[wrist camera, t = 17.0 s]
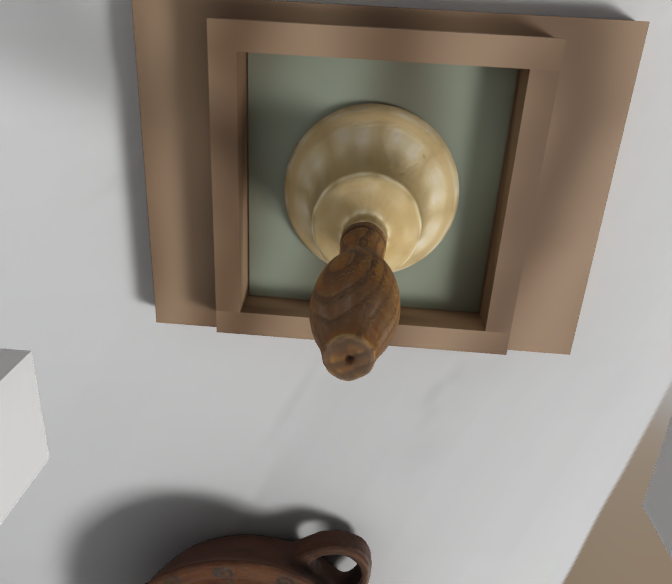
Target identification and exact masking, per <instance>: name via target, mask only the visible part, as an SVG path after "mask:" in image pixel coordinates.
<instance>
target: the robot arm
mask: <svg viewBox="0 0 672 584" xmlns="http://www.w3.org/2000/svg"><path fill="white" fill-rule="evenodd" d="M49 459H50V457H49V451H48V446H47V440H46V434H45V428H44V422H43V416H42V410H41V404H40V399H39V393H38V387H37V381H36V375H35V369H34V363H33V357H32V352H31V351H25V350H12V349H0V525H1V524H2V522H3V521H4V519H5V518H6V517H7V515H8V514H9V513H10V511H11V510H12V509H13V507H14V506H15V505H16V503H17V502H18V501H19V499H20V498H21V496H22V495H23V494H24V492H25V491H26V490H27V488H28V487H29V486H30V484H31V483H32V482H33V480H34V479H35V478H36V476H37V475H38V473H39V472H40V471H41V469H42V468H43V467H44V465H45V464H46V463H47V461H48V460H49ZM642 506H643V508H644V510H645V512H646V514H647V516H648V517H649V519H650V521H651V523H652V525H653V526H654V528H655V530H656V532H657V534H658V536H659V537H660V539H661V541H662V543H663V545H664V546H665V548H666V550H667V552H668V554H669V556H670V557H671V559H672V416H671V419H670V422H669V425H668V428H667V432H666V435H665V438H664V441H663V444H662V447H661V450H660V453H659V456H658V459H657V462H656V465H655V468H654V471H653V474H652V477H651V480H650V483H649V486H648V490H647V493H646V496H645V499H644V502H643V505H642Z"/></svg>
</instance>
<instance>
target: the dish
mask: <svg viewBox="0 0 672 584" xmlns="http://www.w3.org/2000/svg"><path fill="white" fill-rule="evenodd" d="M336 554H338V555H345V556H347V557H350V558H351V559H353V560H354V561H355V562H356V563H357V565H356V566H355V567H354V568H353V569H351V570H350V571H347V572H342V571H339V570H338V569H336V568H335V567H334V566H332V565H331V564H330V563H328V562H327V561H326V560H324V559H323V558H321V556H324V555H336ZM371 564H372V562H371V553H370V549H369V547H368V545H367V543H366V542H365V540H364V539H362V538H361V537H359V536H357V535H355V534H352V533H349V532H344V531H340V530H333V531H321V532H318V533H315V534H312V535H310V536H307V537H305V538H302V539H299V540H296V541H285V540H281V539H277V538H271V537H265V536H255V535H233V536H226V537H220V538H216V539H212V540H209V541H205V542H203V543H200V544H197V545H195V546H193V547H191V548H189V549H187V550H185V551H184V552H182V553H181V554H179V555H178V556H176V557H175V558H174V559H173V560H172V561H170V562H169V563H168V564H167V565H166V566H165V567H164V568H162V569H161V570H160V571H159V572H158V573H157V574H156V575H155V576H154V577H153V578H152V579H151V580H150V581H149V582H147V583H146V584H368V582H369V578H370V573H371Z"/></svg>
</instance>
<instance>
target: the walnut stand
mask: <svg viewBox="0 0 672 584" xmlns="http://www.w3.org/2000/svg"><path fill="white" fill-rule="evenodd" d="M132 13H133V26H134V38H135V51H136V64H137V77H138V90H139V103H140V116H141V129H142V142H143V154H144V167H145V180H146V193H147V206H148V219H149V232H150V245H151V258H152V271H153V283H154V296H155V309H156V322H160V323H173V324H186V325H198V326H211V327H217V332H223V333H236V334H248V335H261V336H274V337H287V338H299V339H312V340H315V339H314V337H313V334H312V331H311V326H310V321H309V307H310V300H311V296H312V292H313V289H314V286H315V284H316V282H317V280H318V277H319V276H320V274H321V272H322V271H323V269H324V268H325V266H326V265H327V263H326V262H324V261H322V260H321V259H319V258H318V257H317V256H315V255H314V254H313V253H312V252H311V251H310V250H309V249H308V248H307V247H306V246H305V245H304V244H303V242H302V241H301V240H300V238H299V237H298V235H297V234H296V232H295V230H294V229H293V227H292V225H291V222H290V220H289V217H288V214H287V211H286V206H285V200H284V180H285V173H286V169H287V165H288V162H289V159H290V157H291V155H292V152H293V150H294V148H295V146H296V144H297V143H298V142H299V141H300V139H301V138H302V137H303V135H304V134H305V133H306V132H307V131H308V130H309V129H310V128H311V127H312V126H313V125H314V124H315V123H317V122H318V121H319V120H321V119H322V118H324V117H325V116H327V115H329V114H330V113H332V112H335V111H337V110H339V109H342V108H345V107H348V106H352V105H358V104H367V103H375V104H384V105H390V106H394V107H398V108H401V109H404V110H406V111H408V112H410V113H413V114H414V115H416V116H418V117H420V118H421V119H423V120H424V121H426V122H427V123H428V124H429V125H430V126H431V127H432V128H433V129H435V130H436V131H437V133H438V134H439V135H440V136H441V138H442V139H443V140H444V142H445V143H446V145H447V147H448V148H449V150H450V152H451V154H452V157H453V159H454V162H455V165H456V168H457V173H458V179H459V200H458V205H457V210H456V214H455V217H454V219H453V222H452V224H451V227H450V229H449V230H448V232H447V233H446V235H445V236H444V238H443V239H442V241H441V242H440V243H439V245H438V246H437V247H436V248H435V249H434V250H433V251H432V252H431V253H430V254H428V255H427V256H426V257H425V258H423V259H422V260H420V261H419V262H417V263H415V264H414V265H412V266H410V267H407V268H405V269H403V270H400V271H397V272H393V274H394V276H395V279H396V281H397V285H398V288H399V296H400V318H399V323H398V326H397V330H396V332H395V334H394V336H393V338H392V340H391V342H390V344H389V345H388V346H401V347H414V348H427V349H439V350H452V351H465V352H477V353H490V354H503V355H506V353H507V350H518V351H531V352H543V353H556V354H569V355H570V352H571V348H572V344H573V339H574V335H575V331H576V327H577V323H578V319H579V314H580V310H581V306H582V302H583V298H584V294H585V289H586V285H587V281H588V277H589V273H590V268H591V264H592V260H593V256H594V252H595V248H596V243H597V239H598V235H599V231H600V227H601V223H602V218H603V214H604V210H605V206H606V202H607V197H608V193H609V189H610V185H611V181H612V177H613V172H614V168H615V164H616V160H617V156H618V152H619V147H620V143H621V139H622V135H623V131H624V126H625V122H626V118H627V114H628V110H629V106H630V101H631V97H632V93H633V89H634V85H635V81H636V76H637V72H638V68H639V64H640V60H641V55H642V51H643V47H644V43H645V39H646V35H647V30H648V26H649V22H646V21H628V20H610V19H592V18H575V17H557V16H539V15H521V14H503V13H485V12H467V11H449V10H431V9H413V8H396V7H378V6H360V5H342V4H324V3H306V2H288V1H270V0H132Z"/></svg>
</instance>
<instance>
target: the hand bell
mask: <svg viewBox="0 0 672 584" xmlns="http://www.w3.org/2000/svg"><path fill="white" fill-rule="evenodd" d="M284 200H285V206H286V211H287V214H288V217H289V220H290V222H291V225H292V227H293V229H294V230H295V232H296V234H297V235H298V237H299V238H300V240H301V241H302V242H303V244H304V245H305V246H306V247H307V248H308V249H309V250H310V251H311V252H312V253H313V254H314V255H315V256H317V257H318V258H319V259H321V260H322V261H324V262H326V263H327V265H326V266H325V268H324V269H323V271H322V272H321V274H320V276H319V277H318V280H317V282H316V284H315V286H314V289H313V292H312V296H311V300H310V307H309V321H310V326H311V331H312V334H313V337H314V339H315V341H316V343H317V345H318V347H319V348H320V351H321V354H322V359H323V364H324V365H325V367H326V369H327V370H328V371H329V372H330V374H332V375H333V376H335V377H337V378H339V379H341V380H345V381H351V380H355V379H357V378H360V377H362V376H365V375H366V374H368V373H369V372H370V371H371V369H372V367H373V366H374V363H375V361H376V360H377V358H378V357H379V356H380V355H381V354H382V353H383V352H384V351H385V349H386V348H387V347H388V345H389V344H390V342H391V340H392V338H393V336H394V334H395V332H396V330H397V326H398V323H399V318H400V296H399V288H398V285H397V281H396V279H395V276H394V274H393V272H397V271H400V270H403V269H405V268H407V267H410V266H412V265H414V264H415V263H417V262H419V261H420V260H422V259H423V258H425V257H426V256H427V255H428V254H430V253H431V252H432V251H433V250H434V249H435V248H436V247H437V246H438V245H439V243H440V242H441V241H442V239H443V238H444V236H445V235H446V233H447V232H448V230H449V229H450V227H451V224H452V222H453V219H454V217H455V214H456V210H457V205H458V200H459V179H458V173H457V168H456V165H455V162H454V159H453V157H452V154H451V152H450V150H449V148H448V147H447V145H446V143H445V142H444V140H443V139H442V138H441V136H440V135H439V134H438V133H437V131H436V130H435V129H433V128H432V127H431V126H430V125H429V124H428V123H427V122H426V121H424V120H423V119H421V118H420V117H418V116H416V115H414V114H413V113H410V112H408V111H406V110H404V109H401V108H398V107H394V106H390V105H384V104H375V103H367V104H358V105H352V106H348V107H345V108H342V109H339V110H337V111H335V112H332V113H330V114H329V115H327V116H325V117H324V118H322V119H321V120H319V121H318V122H317V123H315V124H314V125H313V126H312V127H311V128H310V129H309V130H308V131H307V132H306V133H305V134H304V135H303V137H302V138H301V139H300V141H299V142H298V143H297V144H296V146H295V148H294V150H293V152H292V155H291V157H290V159H289V162H288V165H287V169H286V173H285V180H284Z"/></svg>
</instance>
